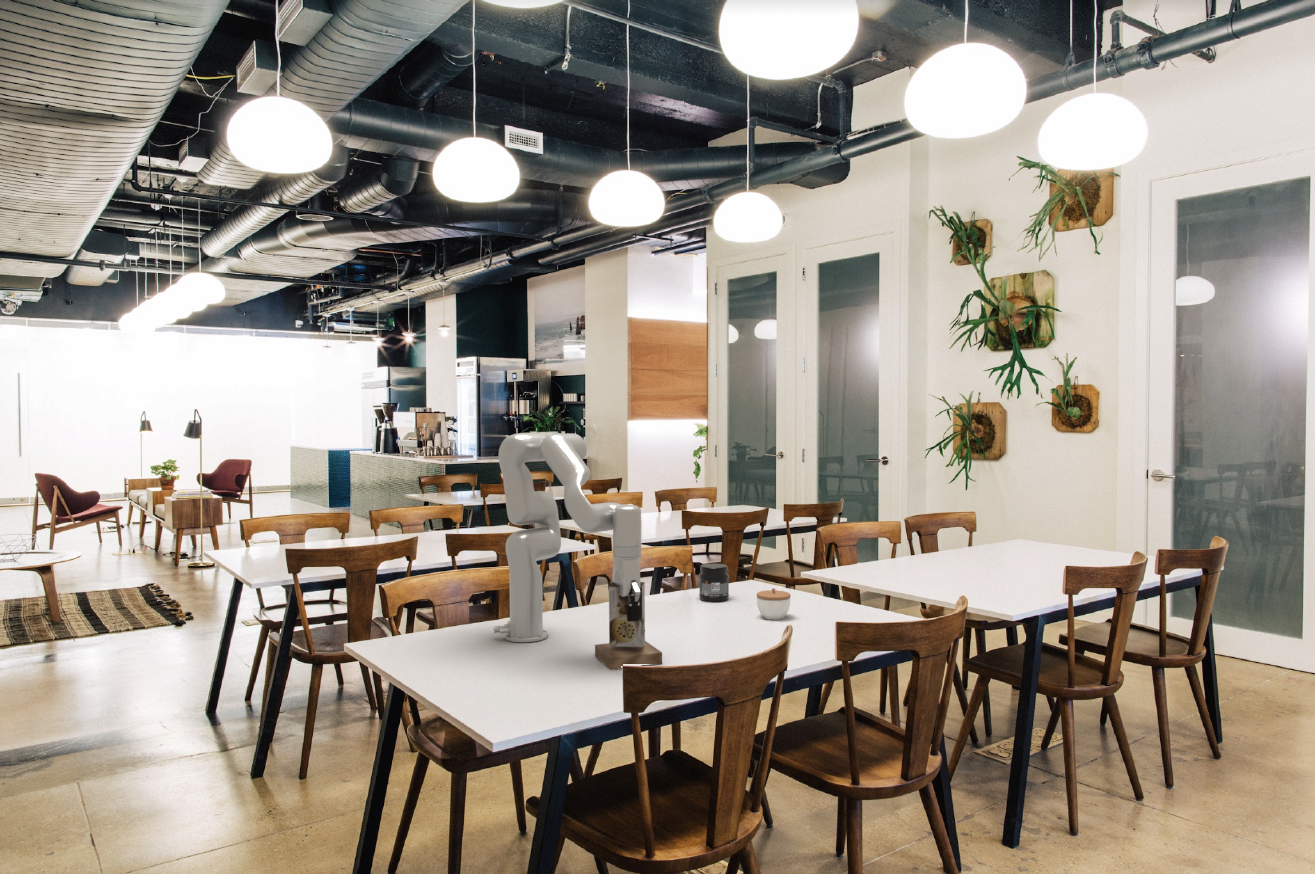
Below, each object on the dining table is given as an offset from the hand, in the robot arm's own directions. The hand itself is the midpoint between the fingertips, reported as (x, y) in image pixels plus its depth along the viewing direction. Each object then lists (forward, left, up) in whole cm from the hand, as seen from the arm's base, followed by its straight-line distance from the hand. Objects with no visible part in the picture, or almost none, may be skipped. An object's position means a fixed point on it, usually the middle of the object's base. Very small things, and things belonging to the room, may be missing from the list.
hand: (627, 616), depth 224 cm
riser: (0, 0, -11) cm, 11 cm away
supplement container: (+53, +59, -12) cm, 80 cm away
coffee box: (0, 0, -8) cm, 8 cm away
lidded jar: (+59, +27, -12) cm, 66 cm away
